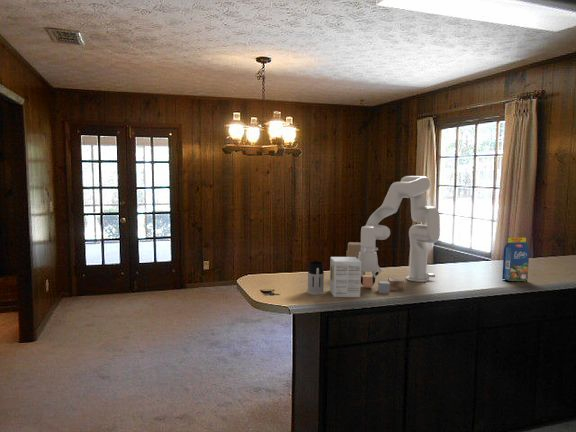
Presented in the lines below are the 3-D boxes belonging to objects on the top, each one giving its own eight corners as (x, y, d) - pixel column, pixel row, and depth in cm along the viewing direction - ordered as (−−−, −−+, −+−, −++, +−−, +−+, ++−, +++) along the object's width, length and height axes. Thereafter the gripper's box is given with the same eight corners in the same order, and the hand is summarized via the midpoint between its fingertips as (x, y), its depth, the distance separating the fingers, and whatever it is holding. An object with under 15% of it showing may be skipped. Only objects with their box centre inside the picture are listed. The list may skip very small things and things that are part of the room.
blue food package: (527, 281, 256) (530, 238, 255) (509, 282, 254) (512, 238, 252) (519, 279, 263) (522, 236, 261) (501, 280, 260) (504, 237, 258)
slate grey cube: (388, 291, 229) (388, 281, 229) (389, 293, 224) (389, 283, 224) (378, 290, 230) (378, 281, 229) (379, 293, 225) (379, 283, 224)
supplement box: (329, 290, 228) (329, 256, 227) (354, 290, 229) (355, 256, 227) (333, 297, 215) (334, 261, 213) (360, 297, 216) (361, 261, 214)
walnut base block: (401, 287, 238) (401, 278, 237) (403, 290, 231) (403, 281, 230) (387, 287, 238) (388, 277, 238) (389, 290, 231) (389, 280, 231)
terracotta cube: (371, 284, 237) (371, 275, 237) (372, 287, 232) (372, 277, 232) (362, 284, 238) (362, 275, 237) (362, 286, 233) (363, 277, 232)
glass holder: (323, 290, 228) (323, 261, 227) (326, 297, 214) (327, 266, 213) (306, 290, 228) (306, 260, 227) (308, 297, 214) (308, 266, 213)
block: (363, 276, 264) (364, 242, 263) (365, 279, 254) (366, 244, 253) (346, 275, 265) (347, 241, 264) (347, 279, 255) (348, 244, 254)
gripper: (383, 248, 236) (383, 282, 238) (351, 248, 238) (350, 282, 239) (385, 251, 229) (384, 286, 230) (351, 250, 230) (351, 285, 232)
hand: (367, 283), depth 235 cm, fingers closed on terracotta cube, 5 cm apart
